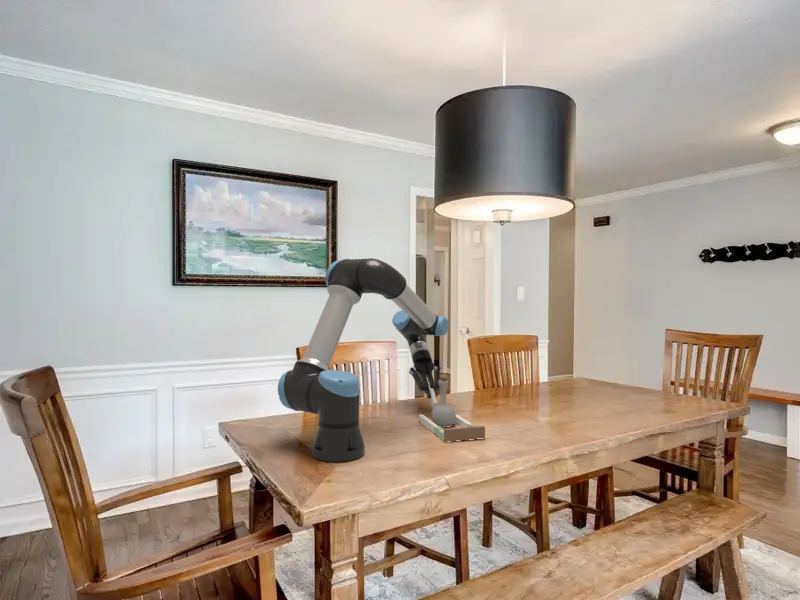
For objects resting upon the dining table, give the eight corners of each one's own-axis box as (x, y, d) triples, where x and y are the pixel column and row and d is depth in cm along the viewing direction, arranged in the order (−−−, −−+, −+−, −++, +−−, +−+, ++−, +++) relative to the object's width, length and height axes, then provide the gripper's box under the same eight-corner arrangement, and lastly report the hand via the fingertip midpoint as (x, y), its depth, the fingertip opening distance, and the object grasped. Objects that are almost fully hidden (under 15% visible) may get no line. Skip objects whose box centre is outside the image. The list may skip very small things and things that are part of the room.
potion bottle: (457, 422, 174) (457, 373, 174) (453, 429, 166) (453, 377, 166) (433, 421, 177) (433, 372, 177) (428, 427, 168) (428, 376, 168)
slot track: (485, 439, 155) (485, 426, 155) (444, 442, 151) (444, 429, 151) (453, 418, 180) (454, 408, 180) (418, 421, 176) (418, 410, 176)
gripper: (407, 349, 191) (420, 400, 175) (438, 348, 195) (453, 398, 179) (403, 361, 196) (415, 411, 180) (433, 360, 200) (448, 409, 184)
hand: (434, 405), depth 180 cm, fingers closed
